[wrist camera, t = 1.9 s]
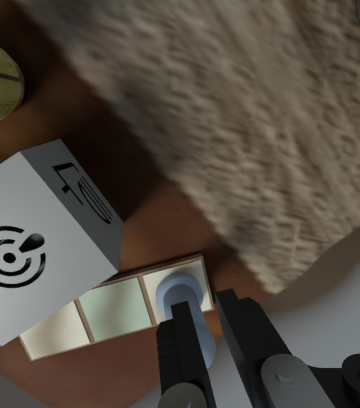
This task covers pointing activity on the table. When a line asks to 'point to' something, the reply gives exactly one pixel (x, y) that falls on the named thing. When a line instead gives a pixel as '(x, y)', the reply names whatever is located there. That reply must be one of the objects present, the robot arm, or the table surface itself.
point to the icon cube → (51, 236)
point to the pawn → (189, 290)
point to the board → (111, 309)
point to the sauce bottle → (10, 85)
